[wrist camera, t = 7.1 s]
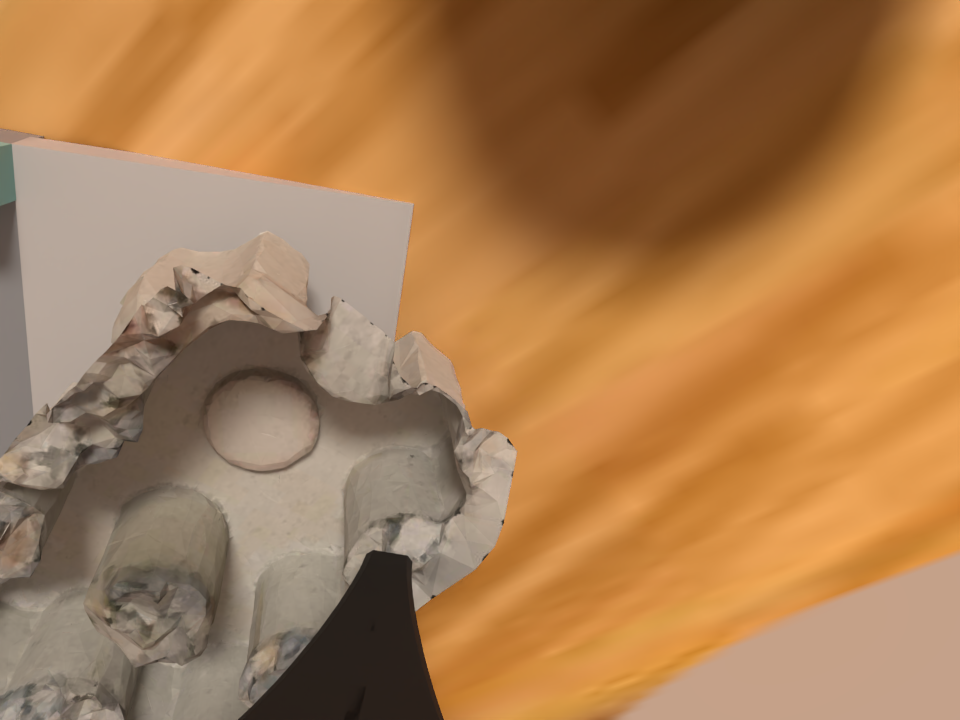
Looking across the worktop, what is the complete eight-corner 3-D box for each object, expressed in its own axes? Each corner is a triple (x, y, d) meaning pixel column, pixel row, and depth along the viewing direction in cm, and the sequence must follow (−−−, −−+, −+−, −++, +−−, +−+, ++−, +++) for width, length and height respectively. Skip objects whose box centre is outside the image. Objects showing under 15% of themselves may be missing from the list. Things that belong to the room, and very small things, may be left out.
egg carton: (220, 163, 12) (175, 238, 9) (520, 398, 16) (576, 521, 12) (-97, 558, 15) (-232, 742, 11) (221, 690, 18) (194, 865, 15)
